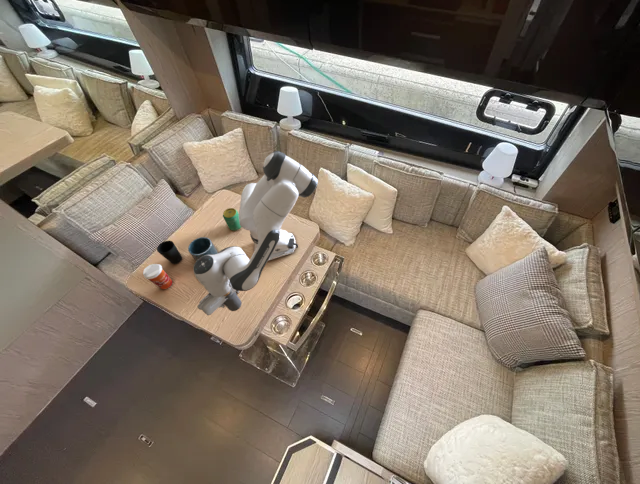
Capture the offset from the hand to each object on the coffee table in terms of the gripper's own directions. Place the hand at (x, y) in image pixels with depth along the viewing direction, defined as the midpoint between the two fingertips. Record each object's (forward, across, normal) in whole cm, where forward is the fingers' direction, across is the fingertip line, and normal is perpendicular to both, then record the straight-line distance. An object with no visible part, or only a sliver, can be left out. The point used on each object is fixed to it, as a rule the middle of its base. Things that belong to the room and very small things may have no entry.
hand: (230, 299), depth 117 cm
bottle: (+6, 0, 0) cm, 6 cm away
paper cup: (+15, -11, +41) cm, 45 cm away
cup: (+15, 0, +50) cm, 52 cm away
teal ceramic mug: (+15, +10, +38) cm, 42 cm away
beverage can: (+16, +33, +43) cm, 56 cm away
